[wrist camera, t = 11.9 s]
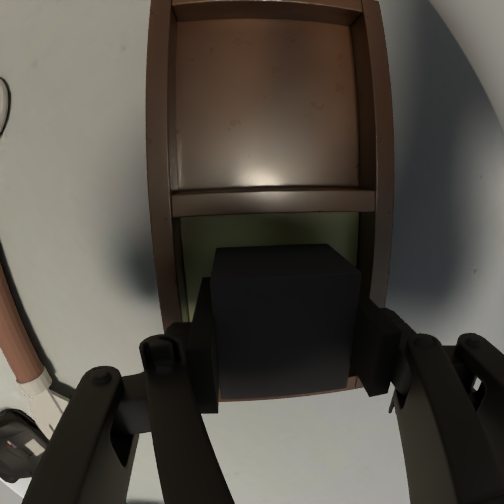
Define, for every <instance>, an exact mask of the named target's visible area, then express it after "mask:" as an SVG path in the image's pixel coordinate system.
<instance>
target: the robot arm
mask: <svg viewBox="0 0 504 504" xmlns="http://www.w3.org/2000/svg"><path fill="white" fill-rule="evenodd" d="M210 279H211V277H202V281H201V285H200V290H199V294H198V298H197V302H196V306H195V311H194V315H193V319H192V322H173V323H172V324H171V325H170V326H168V327H167V328H166V331H165V333H164V334H159V335H154V336H150V337H148V338H146V339H144V340H143V341H142V342H141V343H140V346H139V350H140V354H141V359H142V363H143V367H144V372H142V373H139V374H135V375H130V376H123V377H121V374H120V372H119V370H118V369H116V368H114V367H111V366H99V367H95V368H92V369H91V370H89V371H87V372H86V373H85V374H84V375H83V377H82V379H81V380H80V382H79V384H78V386H77V388H76V390H75V391H74V393H73V395H72V397H71V399H70V401H69V403H68V405H67V407H66V408H65V410H64V412H63V414H62V416H61V418H60V420H59V422H58V424H57V426H56V428H55V430H54V432H53V434H52V436H51V438H50V440H49V442H48V445H47V447H46V449H45V451H44V453H43V455H42V457H41V459H40V462H39V464H38V466H37V468H36V471H35V473H34V475H33V477H32V480H31V482H30V484H29V487H28V489H27V491H26V494H25V496H24V499H23V501H22V504H125V502H126V497H127V491H128V486H129V481H130V476H131V471H132V466H133V462H134V457H135V452H136V448H137V443H138V439H139V434H140V433H146V432H151V433H152V439H153V446H154V452H155V457H156V463H157V469H158V474H159V479H160V484H161V489H162V494H163V498H164V503H165V504H235V503H234V500H233V498H232V496H231V493H230V491H229V489H228V486H227V484H226V481H225V479H224V476H223V474H222V471H221V469H220V466H219V463H218V461H217V458H216V456H215V453H214V450H213V447H212V445H211V442H210V439H209V436H208V434H207V431H206V428H205V425H204V422H203V419H202V416H201V414H209V413H218V399H219V367H218V357H217V346H216V335H215V324H214V315H213V312H212V300H211V287H210ZM350 364H351V365H352V367H353V369H354V371H355V372H356V374H357V376H358V378H359V379H360V381H361V383H362V385H363V386H364V388H365V390H366V392H367V393H368V395H369V397H372V396H377V395H381V394H386V393H388V389H389V386H390V382H392V383H393V385H394V386H395V390H394V394H393V397H392V401H391V404H390V407H389V413H391V412H392V409H393V407H394V406H395V410H396V411H395V413H396V415H397V420H398V425H399V431H400V436H401V442H402V447H403V453H404V459H405V466H406V472H407V479H408V487H409V495H410V503H411V504H504V355H503V354H502V353H501V352H500V351H499V350H498V349H497V348H495V347H494V346H493V345H492V344H491V343H490V342H488V341H487V340H486V339H485V338H483V337H482V336H480V335H477V334H475V333H473V334H472V333H466V334H462V335H460V336H459V338H458V340H457V344H456V345H454V346H442V345H441V343H440V341H439V340H438V339H437V338H435V337H434V336H431V335H428V334H421V333H419V334H417V333H416V332H415V331H414V330H413V329H412V328H411V327H410V326H409V325H408V324H407V323H405V321H403V320H402V319H401V318H400V317H399V316H398V315H397V314H396V313H395V312H394V311H392V310H390V309H388V308H386V307H384V308H379V307H378V306H377V305H376V304H375V303H374V302H373V301H372V300H371V299H370V298H369V297H368V296H367V295H366V294H365V293H364V292H363V291H362V290H361V289H360V294H359V303H358V311H357V319H356V328H355V335H354V343H353V350H352V356H351V363H350ZM477 377H478V378H479V379H480V380H481V381H482V382H481V384H480V387H479V389H478V391H476V390H475V389H474V388H473V386H474V384H475V381H476V379H477Z"/></svg>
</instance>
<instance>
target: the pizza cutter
mask: <svg viewBox="0 0 504 504" xmlns="http://www.w3.org/2000/svg"><path fill="white" fill-rule="evenodd" d="M0 347H1V349H2V351H3V353H4V355H5V357H6V359H7V361H8V363H9V365H10V367H11V369H12V371H13V373H14V374H15V376H16V378H17V379H16V381H17V383H18V385H19V387H20V388H21V390H22V392H23V393H24V395H25V396H27V397H32V396H33V397H32V398H31V400H30V409H31V414H32V416H33V418H34V420H35V422H36V424H37V426H38V427H39V428H40V430H41V431H42V432H43V433H44V435H45V436H46V437H47V438H48V439H49V440H50V438H51V436H52V434H53V432H54V430H55V428H56V426H57V424H58V422H59V420H60V418H61V416H62V414H63V412H64V410H65V408H66V407H67V405H68V403H69V401H70V399H68V398H66V397H64V396H62V395H60V394H58V393H56V392H54V391H52V390H49V386H50V385H51V383H52V379H51V377H50V376H49V374H48V372H47V370H46V368H45V367H44V365H42V364H41V362H40V360H39V358H38V356H37V354H36V352H35V350H34V348H33V346H32V343H31V341H30V339H29V337H28V335H27V332H26V330H25V328H24V326H23V323H22V321H21V318H20V316H19V314H18V311H17V309H16V306H15V304H14V301H13V298H12V296H11V293H10V290H9V287H8V284H7V282H6V279H5V276H4V273H3V269H2V266H1V263H0Z"/></svg>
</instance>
